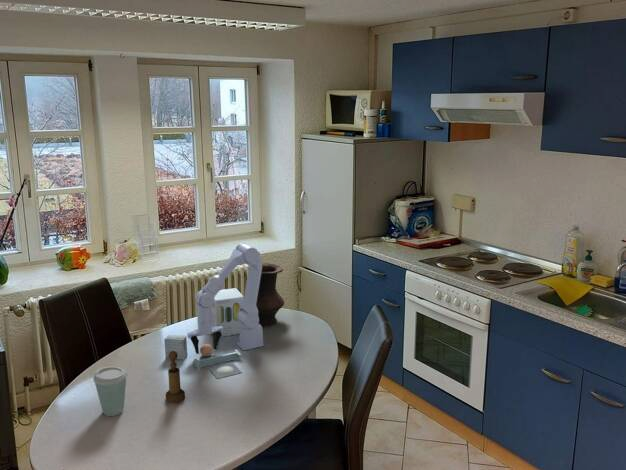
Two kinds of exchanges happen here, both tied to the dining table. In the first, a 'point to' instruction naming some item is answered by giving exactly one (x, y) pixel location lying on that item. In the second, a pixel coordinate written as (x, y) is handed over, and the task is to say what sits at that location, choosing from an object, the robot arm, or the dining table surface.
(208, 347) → the ball
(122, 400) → the disposable coffee cup
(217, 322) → the supplement box
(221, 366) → the resting mat
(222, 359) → the divider wall
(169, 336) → the medicine box
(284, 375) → the dining table surface
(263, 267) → the jug
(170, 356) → the brown wooden tall figure
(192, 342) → the robot arm
